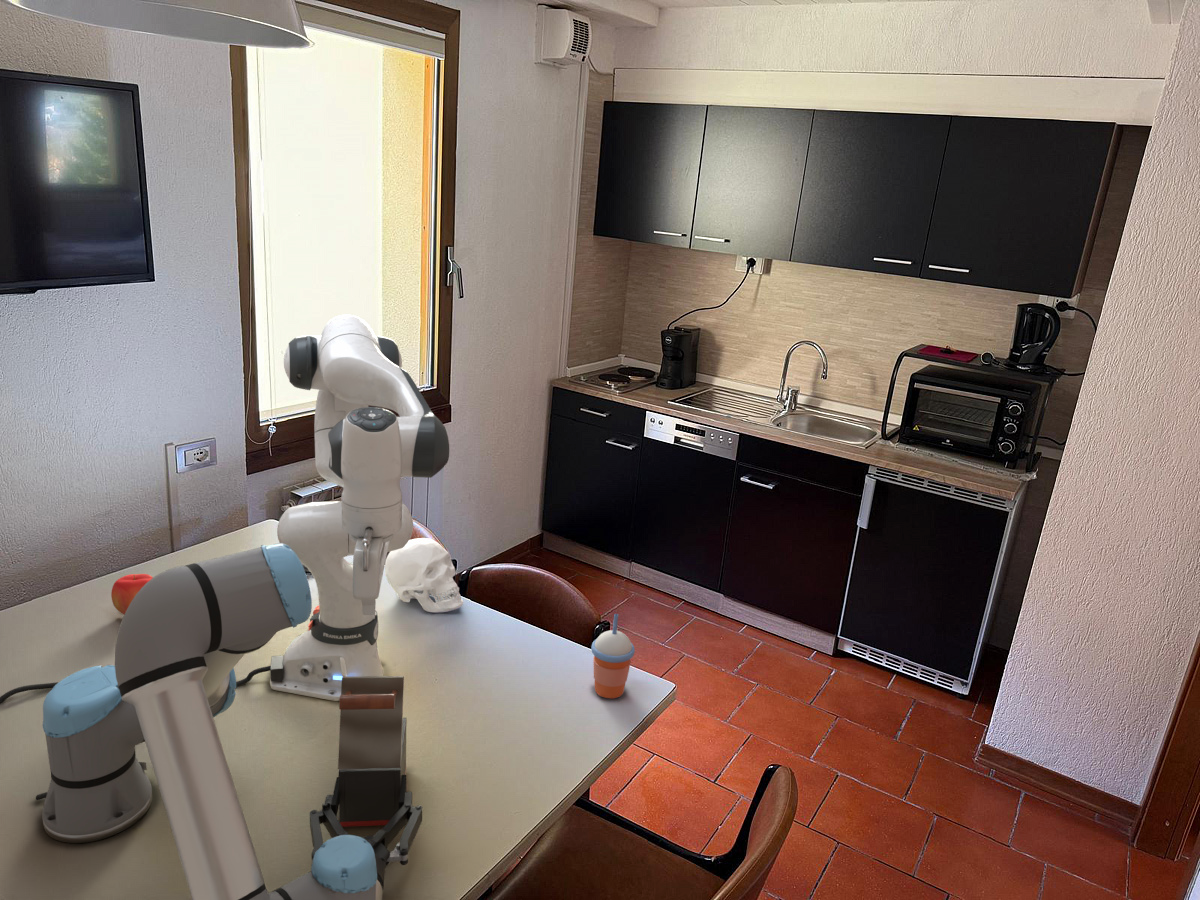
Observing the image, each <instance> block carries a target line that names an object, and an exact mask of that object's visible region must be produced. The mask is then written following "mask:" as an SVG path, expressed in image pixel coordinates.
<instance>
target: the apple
mask: <svg viewBox="0 0 1200 900" xmlns="http://www.w3.org/2000/svg"><path fill="white" fill-rule="evenodd" d="M152 578H154V577H153V576H152V575H150V574H147V573H131V574H126V575H124V576H121V577H119V578H118V579H116V580H115V582H114V583H113V585H112V587H111V594H110V595H111V597H110V598H111V602H112V604H113V606H114V608H115V609H116V610H117V611H118V612H119V613H120V614H121V615H123V616H124V615H125V613H126V611H127V609H128V607H129V605H130V603H131V602H132V600H133V599H134V597H135V596H136V594H137V593H138V592H139V591H140V589H141V588H142V587H143V586H144V585H145V584H146V583H147V582H149V581H150V580H151V579H152Z"/></svg>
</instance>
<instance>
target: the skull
mask: <svg viewBox="0 0 1200 900" xmlns="http://www.w3.org/2000/svg"><path fill="white" fill-rule="evenodd" d="M384 573H385V577H386V580H387V582H388V584H389V585H390V588H392V590H393V591H394V592H395V593H396V594H397V596H398V598H399V599H400V600H401V601H402V602H404V603H410V601H411V599H416V600H417V601H418V603H419V604H420V605H421V607H422V609H423V610H424V612H425V611H426V612H427V613H433V614H435V613H436V614H437V613H447V612H451V611H454V610H455V611H456V610H458V609H460V608H463V606H464V602H465V601H464V600H463V599H462V596H461V594H460V587H459V586H458V584H457V583H456V581H455V580H454V577H455V576H456V574H457V572H456V568H455V566H454V564H453V561H452V559H451V554H450V552H449V551H447V550H446V549H445V548H444V547H443V545H441V544H440V543H439V542H437V541H436V540H434V539H431V538H425V537H419V538H417V537H416V538H413V539H410V540H409V541H408V543H407V544H406V545H405V546H404V547H403V548H401V549H397V550H394V551H390V552H388V553H387V556H386V561H385V566H384ZM430 596H431V597H433V599H434V600H432V599H431V597H430Z"/></svg>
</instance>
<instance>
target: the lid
mask: <svg viewBox="0 0 1200 900" xmlns="http://www.w3.org/2000/svg"><path fill="white" fill-rule="evenodd" d="M404 691H405V675H383V676H355V677H342V685H341V695H340V699H339V701H338V708H339V710H340V711H339V733H338V753H337V754H338V755H337V757H338V758H337V770H339V769H371V768H400V767H401V749H402V722H403V718H404Z"/></svg>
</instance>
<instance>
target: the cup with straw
mask: <svg viewBox="0 0 1200 900" xmlns="http://www.w3.org/2000/svg"><path fill="white" fill-rule="evenodd" d="M618 623H619V614H618V613H614V614H613V622H612V629H611V630H606V631H603V632H602V633H600V634H599V636H598V637H597V638H596V639H594V640H593V642H592V643H591V646H590V647H591V648H590V649H591V653H592V655H593V660H592V661H593V679H594V691H595V693H596V694H597V696H599V697H602V698H605V699H617V698H620V697H621V696H623V694H624V692H625V688H626V683H627V680H628V676H629V672H630V667H631V663H632V662H631V661H632V660H631V659H632V658H633V657H634V656H635V653H636V650H635V646H634V644H633V643H632V642H631V639H630V637H628V636H627V634H625V633H624V632H622V631H620V630H618Z"/></svg>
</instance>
